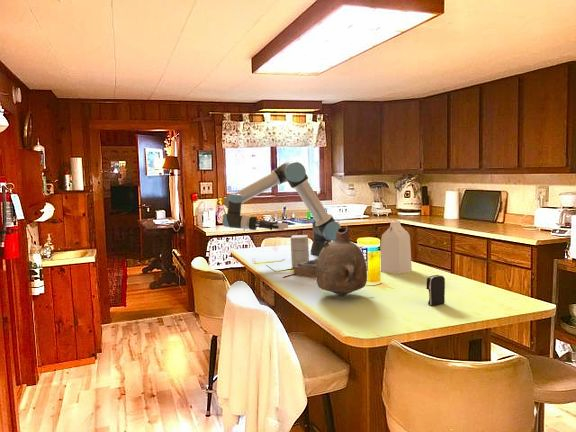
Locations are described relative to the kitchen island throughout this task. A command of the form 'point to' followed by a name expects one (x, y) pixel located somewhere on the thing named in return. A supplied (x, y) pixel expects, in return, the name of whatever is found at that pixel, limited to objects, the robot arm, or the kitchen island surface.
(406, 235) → the milk
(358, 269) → the jug
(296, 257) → the supplement box
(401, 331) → the kitchen island surface
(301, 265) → the display riser
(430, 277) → the battery charger
